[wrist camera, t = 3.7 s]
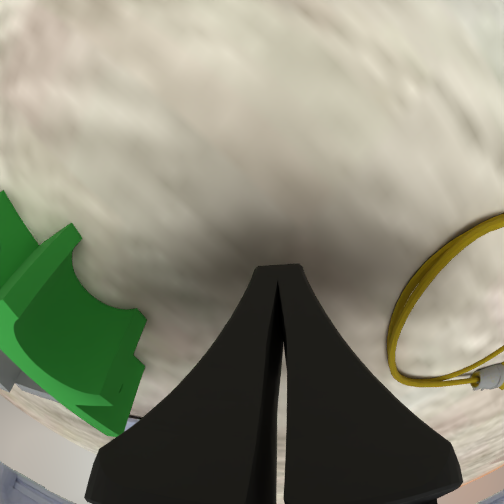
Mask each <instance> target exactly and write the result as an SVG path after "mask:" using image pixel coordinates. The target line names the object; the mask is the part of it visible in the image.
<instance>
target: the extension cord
mask: <svg viewBox="0 0 504 504" xmlns="http://www.w3.org/2000/svg"><path fill="white" fill-rule="evenodd" d="M502 227H504V213H503V214H501V215H498V216H495V217H493V218H491V219H489V220H486V221H484V222H482V223H480V224H479V225H477V226H475V227H473V228H472V229H470V230H468V231H467V232H465V233H463V234H462V235H460V236H458V237H457V238H455V239H454V240H452V241H450V242H449V243H447V244H446V245H445V246H444V247H443V248H441V249H440V250H439V251H438V252H437V253H435V254H434V255H433V256H432V257H431V258H430V259H428V260H427V261H426V262H425V263H424V264H423V266H422V267H421V268H420V269H419V270H418V271H417V273H416V274H415V275H414V276H413V278H412V279H411V280H410V281H409V283H408V284H407V286H406V287H405V289H404V290H403V292H402V294H401V296H400V298H399V300H398V302H397V304H396V306H395V309H394V311H393V314H392V317H391V321H390V324H389V329H388V336H387V354H388V364H389V368H390V371H391V374H392V376H393V377H394V378H395V379H396V380H397V381H398V382H400V383H402V384H405V385H408V386H414V387H443V386H452V385H460V384H468V383H470V384H471V386H472V387H473V390H474V391H475V390H478V389H481V391H482V390H484V389H494V388H498V387H499V388H500V389H501V390H503V389H504V362H502V363H501V364H495V365H493V366H489V367H486V368H484V369H481V370H478V371H475V372H474V373H473V374H472V375H471V378H467V379H459V380H449V381H443V380H447V379H450V378H453V377H456V376H459V375H461V374H463V373H466V372H468V371H470V370H472V369H474V368H476V367H478V366H480V365H482V364H483V363H485V362H487V361H489V360H490V359H492V358H493V357H495V356H497V355H498V354H500V353H501V352H503V351H504V346H502V347H501V348H499V349H498V350H496V351H495V352H493V353H492V354H490V355H488V356H487V357H485V358H484V359H482V360H480V361H478V362H476V363H474V364H473V365H471V366H468V367H466V368H464V369H462V370H459V371H456V372H454V373H451V374H448V375H444V376H440V377H436V378H430V379H412V378H408V377H405V376H403V375H401V374H400V373H399V372H398V371H397V367H396V363H395V350H396V345H397V341H398V338H399V335H400V333H401V330H402V328H403V326H404V324H405V321H406V319H407V317H408V315H409V314H410V312H411V310H412V309H413V307H414V305H415V304H416V302H417V301H418V299H419V298H420V296H421V295H422V294H423V292H424V291H425V289H426V288H427V287H428V285H429V284H430V283H431V282H432V281H433V279H434V278H435V277H436V276H437V275H438V273H439V272H440V271H441V270H442V269H443V268H444V267H445V266H446V265H447V264H448V263H449V262H450V261H451V260H452V259H453V258H454V257H455V256H456V255H457V254H458V253H459V252H461V251H462V250H463V249H464V248H465V247H466V246H468V245H469V244H471V243H472V242H473V241H475V240H476V239H477V238H479V237H481V236H483V235H485V234H487V233H488V232H491V231H494V230H496V229H499V228H502ZM418 283H419V284H418ZM416 286H417V287H416ZM415 287H416V288H415ZM414 289H415V290H414ZM413 290H414V291H413ZM412 291H413V293H412ZM411 293H412V294H411ZM410 294H411V295H410ZM409 296H410V297H409ZM408 298H409V299H408ZM404 305H405V306H404Z"/></svg>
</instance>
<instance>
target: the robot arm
mask: <svg viewBox="0 0 504 504" xmlns="http://www.w3.org/2000/svg"><path fill="white" fill-rule="evenodd" d="M283 342H284V350H285V358H286V366H287V433H286V462H285V484H284V502H285V504H437V498H439V497H441V496H443V495H445V494H448V493H450V492H452V491H454V490H456V489H457V488H459V487H460V486H461V484H462V483H463V479H462V474H461V469H460V465H459V462H458V459H457V457H456V454H455V452H454V449H453V447H452V444H451V443H450V442H449V441H448V440H446V439H445V438H444V437H442V436H441V435H440V434H438V433H437V432H436V431H434V430H433V429H432V428H430V427H429V426H428V425H427V424H425V423H424V422H423V421H422V420H421V419H419V418H418V417H417V416H416V415H415V414H414V413H412V412H411V411H410V410H409V409H408V408H407V407H406V406H404V405H403V404H402V403H401V402H400V401H399V400H398V399H397V398H396V397H395V396H394V395H393V394H392V393H391V392H390V391H389V390H388V389H387V388H386V387H385V386H384V385H383V384H382V383H381V382H380V381H379V380H378V379H377V378H376V377H375V376H374V375H373V374H372V373H371V372H370V371H369V369H368V368H367V367H366V366H365V365H364V364H363V363H362V362H361V360H360V359H359V358H358V357H357V356H356V354H355V353H354V352H353V351H352V349H351V348H350V347H349V346H348V344H347V343H346V342H345V340H344V339H343V338H342V336H341V335H340V333H339V332H338V331H337V329H336V328H335V326H334V325H333V323H332V322H331V320H330V319H329V317H328V316H327V314H326V313H325V311H324V309H323V308H322V306H321V304H320V303H319V301H318V299H317V298H316V296H315V294H314V292H313V290H312V288H311V286H310V284H309V282H308V280H307V278H306V276H305V273H304V270H303V267H302V266H301V265H300V264H299V263H298V264H284V265H270V266H258V267H257V268H256V269H255V270H254V273H253V276H252V278H251V280H250V283H249V285H248V287H247V289H246V291H245V293H244V295H243V297H242V299H241V300H240V302H239V304H238V306H237V307H236V309H235V311H234V313H233V314H232V316H231V318H230V319H229V321H228V322H227V324H226V325H225V327H224V328H223V330H222V331H221V333H220V334H219V336H218V337H217V339H216V340H215V342H214V343H213V344H212V346H211V347H210V348H209V350H208V351H207V352H206V354H205V355H204V356H203V357H202V359H201V360H200V361H199V362H198V363H197V365H196V366H195V367H194V368H193V369H192V370H191V372H190V373H189V374H188V375H187V376H186V377H185V378H184V379H183V380H182V381H181V382H180V384H179V385H178V386H177V387H176V388H175V389H174V390H173V391H172V392H171V393H170V394H169V395H168V396H167V397H165V398H164V399H163V400H162V401H161V402H160V403H159V404H158V405H156V406H155V407H154V408H153V409H152V410H151V411H150V412H149V413H147V414H146V415H145V416H144V417H143V418H142V419H134V418H129V417H128V421H127V424H126V427H125V431H124V432H123V433H122V434H120V435H119V436H117V437H116V438H115V439H113V440H112V441H110V442H109V443H107V444H106V445H104V446H103V447H101V448H100V449H99V451H98V454H97V456H96V459H95V461H94V463H93V467H92V471H91V474H90V478H89V481H88V486H87V489H86V493H85V497H84V498H85V499H86V501H87V502H90V503H92V504H276V476H277V408H278V396H279V386H280V376H281V365H282V354H283ZM0 504H76V503H73V502H71V501H69V500H67V499H65V498H63V497H60V496H59V495H57V494H54V493H53V492H50V491H49V490H47V489H45V487H44V486H42V485H40V484H38V483H36V482H35V481H33V480H31V479H29V478H28V477H26V476H24V475H22V474H21V473H19V472H17V471H15V470H13V469H11V468H10V467H8V466H6V465H5V464H4V463H2V462H0ZM476 504H504V489H503V490H501V491H500V492H498V493H496V494H494V495H492V496H490V497H488V498H486V499H484V500H482V501H480V502H478V503H476Z"/></svg>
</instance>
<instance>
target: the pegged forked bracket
mask: <svg viewBox="0 0 504 504" xmlns="http://www.w3.org/2000/svg"><path fill="white" fill-rule="evenodd" d="M14 383H15V384H16V385H17V386H18V387H19V388H20V389H21V390H23V391H25V392H28V393H31V394H34V395H37V396H40V397H43V398H46V399H49V400H52V401H55V402H58V401H57V400H56V399H55V398H53V397H52V396H51V395H50V394H48V393H47V392H46V391H45V390H44V389H42V388H41V387H40V386H39V385H38V384H37V383H35V382H34V381H33V380H32V379H31V378H30V377H29V376H28V375H26V374H25V373H24V372H23V371H22V370H21V369H20V368H19V367H18V366H17V365H16V364H15V363H14V362H13V361H12V360H11V359H10V358H9V357H8V356H7V355H6V354H5V353H4V352H3V351H2V350H1V349H0V389H3V390H5V391H7V392H10V391H11V389H12V387H13V385H14ZM58 403H60V402H58Z"/></svg>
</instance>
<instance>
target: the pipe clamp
mask: <svg viewBox="0 0 504 504" xmlns="http://www.w3.org/2000/svg"><path fill="white" fill-rule="evenodd" d="M81 239H82V237H81V235H80V234H79V233H78V231H77V230H76V228H75V227H74V225H73V224H72V223H70V224H69V225H67V226H66V227H64V228H63V229H62V230H60V231H59V232H57V233H56V234H54V235H53V236H52V237H50V238H49V239H47V240H46V241H45V242H43V243H42V244H41V245H38V243H37V242H36V241H35V239H34V238H33V236H32V235H31V233H30V232H29V230H28V229H27V227H26V226H25V224H24V223H23V221H22V220H21V218H20V216H19V215H18V213H17V212H16V210H15V209H14V207H13V205H12V204H11V202H10V200H9V199H8V197H7V195H6V193H5V192H4V190H3V191H2V192H0V349H1V350H2V351H3V352H4V353H5V354H6V355H7V356H8V357H9V358H10V359H11V360H12V361H13V362H14V363H15V364H16V365H17V366H18V367H19V368H20V369H21V370H22V371H23V372H24V373H25V374H26V375H28V376H29V377H30V378H31V379H32V380H33V381H34V382H35V383H37V384H38V385H39V386H40V387H41V388H42V389H44V390H45V391H46V392H47V393H48V394H50V395H51V396H52V397H53V398H55V399H56V400H57V401H58V402H60V403H61V404H62V405H64V406H65V407H66V408H68V409H69V410H70V411H72V412H73V413H74V414H76V415H77V416H79V417H80V418H81V419H83V420H84V421H86V422H87V423H89V424H90V425H91V426H93V427H94V428H96V429H98V430H99V431H101V432H102V433H104V434H105V435H107V436H113V437H117V436H119V435H120V434H122V433H123V432H124V431H125V427H126V424H127V421H128V417H129V414H130V411H131V408H132V405H133V402H134V398H135V395H136V392H137V389H138V386H139V383H140V380H141V377H142V374H143V371H144V368H145V366H144V365H143V364H142V363H141V362H140V361H139V360H138V359H137V358H136V357H135V356H134V355H133V354H134V351H135V349H136V346H137V344H138V341H139V339H140V336H141V334H142V331H143V329H144V326H145V324H146V321H147V319H146V318H145V317H144V316H143V315H142V314H141V312H140V311H139V310H138V309H137V308H135V309H127V310H126V309H118V308H114V307H111V306H108V305H106V304H104V303H102V302H100V301H99V300H97V299H96V298H94V297H93V296H92V295H90V294H89V293H88V292H87V291H86V290H85V289H84V287H83V286H82V285H81V283H80V282H79V280H78V279H77V277H76V275H75V272H74V270H73V266H72V252H73V249H74V247H75V246H76V245H77V244H78V243H79V242H80V240H81Z"/></svg>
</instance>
